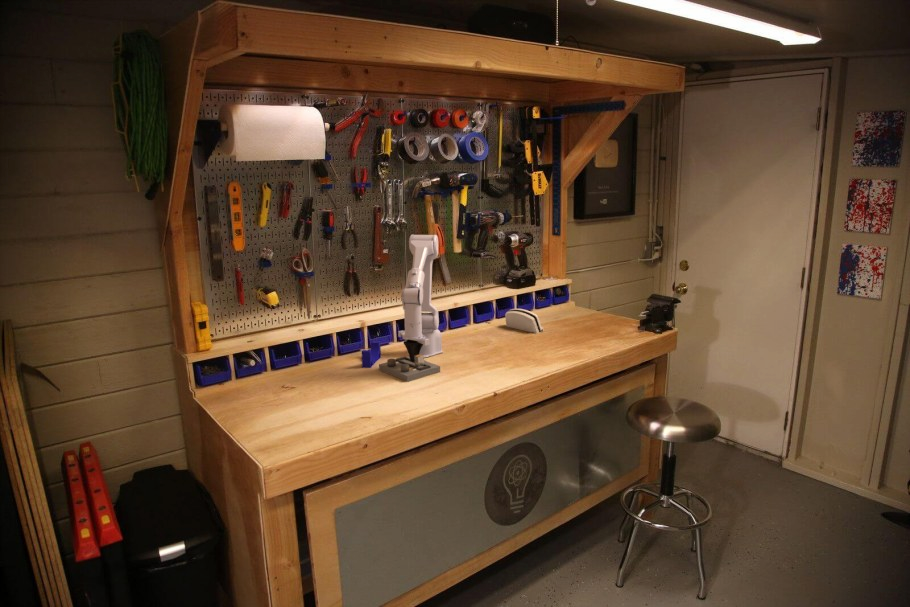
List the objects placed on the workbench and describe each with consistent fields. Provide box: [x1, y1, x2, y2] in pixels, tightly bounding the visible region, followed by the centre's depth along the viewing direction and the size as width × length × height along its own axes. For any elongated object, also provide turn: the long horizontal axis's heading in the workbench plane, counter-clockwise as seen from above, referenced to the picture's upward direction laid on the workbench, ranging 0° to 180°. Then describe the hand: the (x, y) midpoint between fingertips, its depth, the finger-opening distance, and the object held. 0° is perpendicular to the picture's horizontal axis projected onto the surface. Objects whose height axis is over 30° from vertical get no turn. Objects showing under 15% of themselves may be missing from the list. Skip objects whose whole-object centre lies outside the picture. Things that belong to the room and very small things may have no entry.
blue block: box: [361, 341, 382, 369], centre depth 218 cm, size 12×4×6 cm, turn 169°
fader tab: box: [414, 354, 425, 368], centre depth 206 cm, size 3×2×4 cm
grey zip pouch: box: [504, 308, 545, 334], centre depth 257 cm, size 17×5×10 cm, turn 46°
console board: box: [378, 355, 441, 383], centre depth 208 cm, size 14×16×4 cm
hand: (414, 361), depth 208 cm, fingers closed
